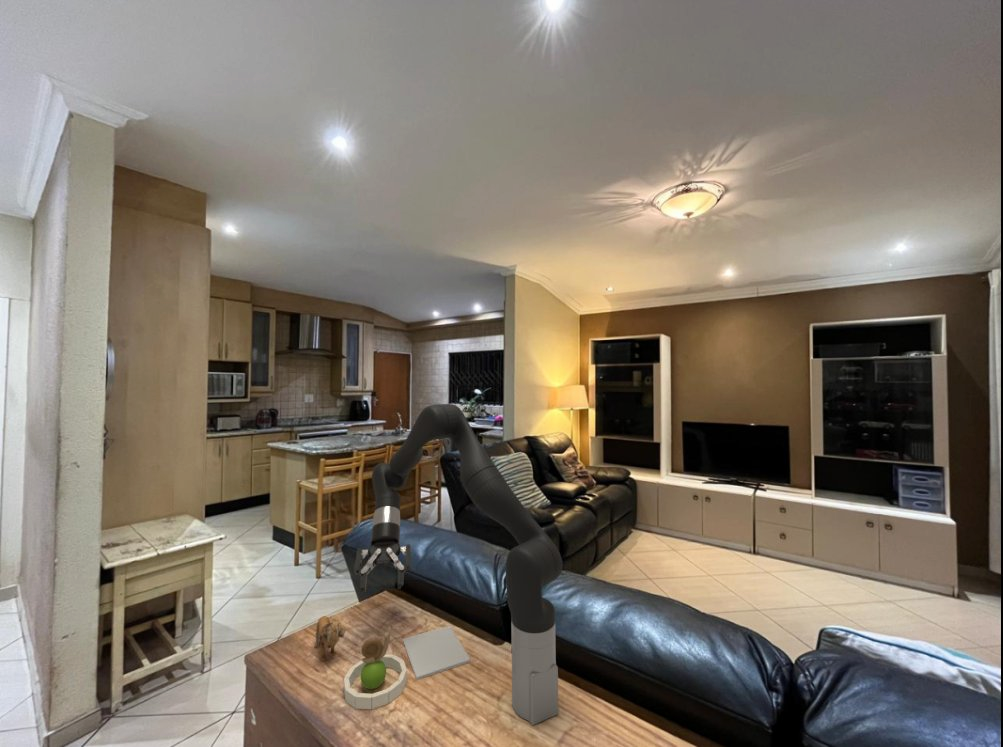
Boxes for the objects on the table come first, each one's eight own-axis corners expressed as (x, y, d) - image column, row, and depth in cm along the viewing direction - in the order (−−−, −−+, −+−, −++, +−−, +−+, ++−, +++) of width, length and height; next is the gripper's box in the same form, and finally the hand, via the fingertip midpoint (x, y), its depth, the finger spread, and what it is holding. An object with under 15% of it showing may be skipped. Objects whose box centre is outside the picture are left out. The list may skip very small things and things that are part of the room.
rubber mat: (470, 662, 95) (470, 659, 95) (416, 680, 90) (416, 677, 90) (450, 627, 109) (450, 625, 109) (402, 641, 103) (402, 638, 103)
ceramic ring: (411, 695, 85) (411, 684, 85) (347, 718, 80) (347, 706, 80) (399, 658, 97) (399, 648, 97) (342, 675, 91) (342, 664, 91)
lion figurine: (348, 658, 97) (348, 621, 97) (325, 669, 93) (326, 631, 93) (325, 632, 108) (325, 598, 108) (304, 641, 104) (304, 606, 104)
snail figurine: (392, 689, 87) (392, 634, 87) (361, 698, 85) (361, 641, 85) (389, 673, 92) (389, 620, 92) (360, 680, 90) (360, 627, 90)
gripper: (357, 522, 107) (349, 587, 96) (411, 519, 110) (410, 581, 98) (361, 535, 112) (353, 597, 101) (412, 531, 115) (411, 591, 104)
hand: (381, 589), depth 100 cm, fingers open, 8 cm apart
